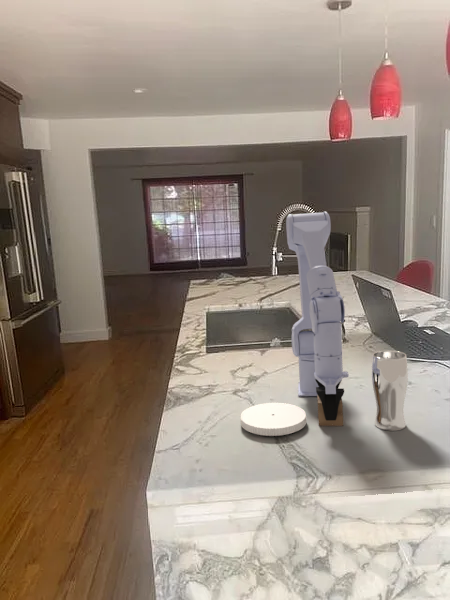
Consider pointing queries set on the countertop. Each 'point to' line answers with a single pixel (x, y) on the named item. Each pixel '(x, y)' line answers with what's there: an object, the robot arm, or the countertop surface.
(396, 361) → the beer glass
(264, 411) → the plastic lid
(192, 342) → the countertop surface
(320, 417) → the walnut cube
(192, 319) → the countertop surface
